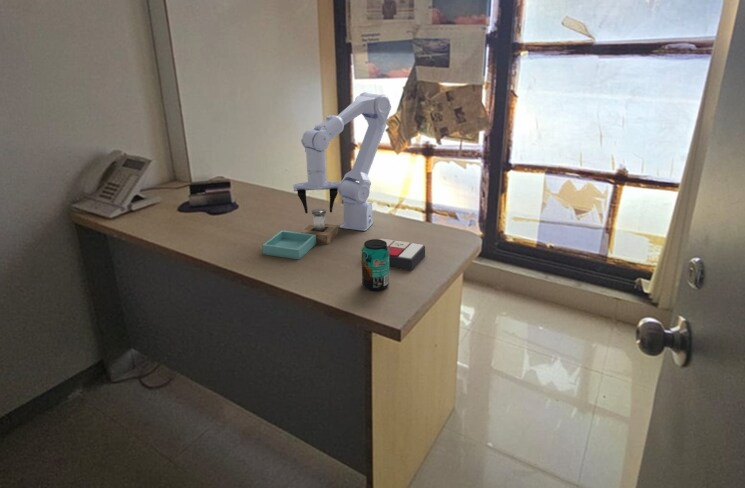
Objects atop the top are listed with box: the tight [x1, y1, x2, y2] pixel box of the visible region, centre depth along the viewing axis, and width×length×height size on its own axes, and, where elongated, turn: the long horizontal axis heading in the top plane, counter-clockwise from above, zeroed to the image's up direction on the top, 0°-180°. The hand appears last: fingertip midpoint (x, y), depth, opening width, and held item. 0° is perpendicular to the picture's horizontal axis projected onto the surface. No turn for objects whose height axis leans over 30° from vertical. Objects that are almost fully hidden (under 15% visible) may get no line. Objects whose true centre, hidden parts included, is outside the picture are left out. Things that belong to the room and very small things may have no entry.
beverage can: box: [361, 238, 390, 292], centre depth 124 cm, size 7×7×12 cm
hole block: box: [300, 221, 339, 245], centre depth 156 cm, size 9×9×3 cm
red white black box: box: [379, 238, 426, 272], centre depth 141 cm, size 11×4×15 cm
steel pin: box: [311, 208, 327, 232], centre depth 155 cm, size 4×4×9 cm
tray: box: [261, 229, 318, 260], centre depth 148 cm, size 12×12×3 cm
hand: (318, 211), depth 153 cm, fingers open, 7 cm apart
